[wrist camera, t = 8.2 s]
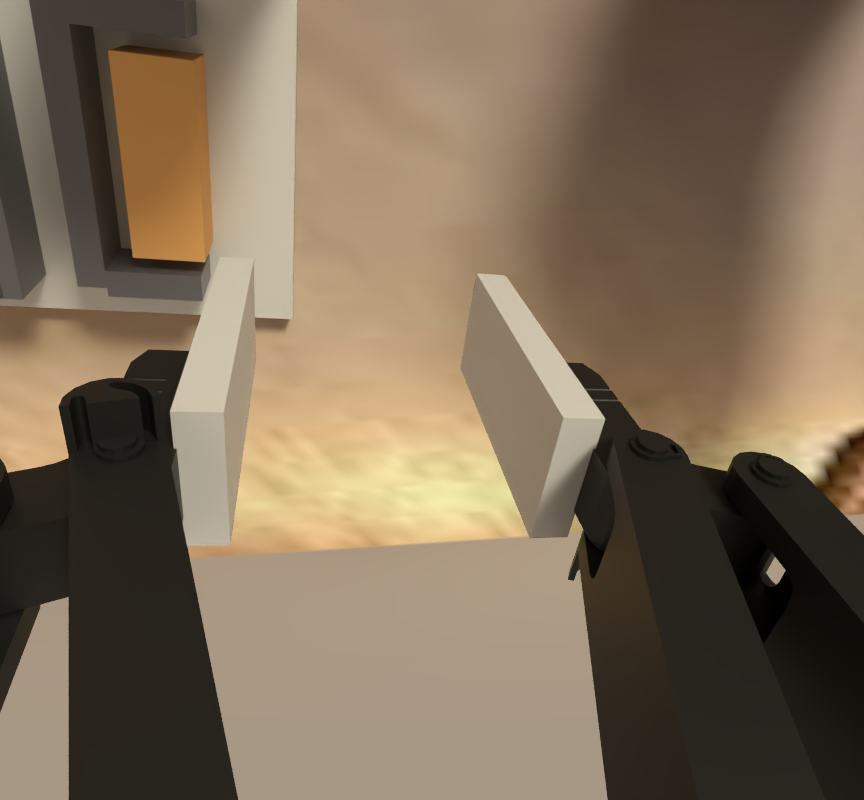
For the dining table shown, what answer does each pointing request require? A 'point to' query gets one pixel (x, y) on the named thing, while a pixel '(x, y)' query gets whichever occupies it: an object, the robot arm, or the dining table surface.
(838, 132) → the dining table surface
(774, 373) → the dining table surface
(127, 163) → the orange rectangular brick
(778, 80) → the dining table surface
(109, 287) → the board
